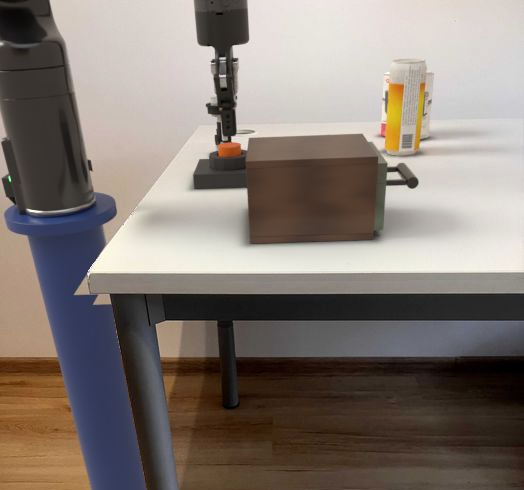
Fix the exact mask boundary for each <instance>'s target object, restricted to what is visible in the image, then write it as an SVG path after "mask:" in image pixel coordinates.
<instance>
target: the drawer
mask: <svg viewBox="0 0 524 490" xmlns="http://www.w3.org/2000/svg"><path fill="white" fill-rule="evenodd" d="M368 142H369V144H370V145H371V147H372V148H373V150H374V151H375V153H376V154H377V155H378V171H377V187H376V203H375V219H374V231H383V230H384V224H385V223H384V222H385V209H386V208H385V206H386V196H387V195H386V194H387V187H394V186H395V187H397V186H407V188H408V189H411V190H414V189H416V188H417V187H418V186H419V183H420V181H419V179H418V177H417V176H416V175H415V174H414V172H413V171H412V170H411V169H410V167H409V166H408V165H407V164H406V163H405V162H399V163H397V165H396V166H395V165H394V166H388V165H389V164H388V161H387V160H386V159H385V157H384V156H383V155H382V153H381V152H380V150H379V149H378V148H377V146H376V145H375V144H374V142H373V141H368ZM388 173H397V175H398V176H399V177H400V178H399V179H395V178H394V179H388Z"/></svg>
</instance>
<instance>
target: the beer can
mask: <svg viewBox="0 0 524 490" xmlns="http://www.w3.org/2000/svg"><path fill="white" fill-rule="evenodd" d="M427 71H428V65H427V64H426V59H423V58H397V59H393V60H392V63H391V65H390V67H389V72H390V75H389V90H388V104H387V119H386V134H385V136H384V149H385V151H386V152H387V154H388V155H392V156H399V157H400V156H401V157H406V156H407V157H408V156H413V155H415V154H416V153H417V151H418V150H419V149H420V145H421V144H420V143H421V139H420V135H421V124H422V114H423V104H424V93H425V83H426V73H427Z"/></svg>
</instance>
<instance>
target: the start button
mask: <svg viewBox="0 0 524 490" xmlns="http://www.w3.org/2000/svg"><path fill="white" fill-rule="evenodd" d="M241 149H242V144H241V143H240V142H233V141H231V142H228V143H222V144H219V145H218V154H219V156H221V157H234V156H240V155H241Z"/></svg>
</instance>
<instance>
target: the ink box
mask: <svg viewBox="0 0 524 490" xmlns="http://www.w3.org/2000/svg"><path fill="white" fill-rule="evenodd" d="M389 75H390V71H387V72H384V73H383V77H382V79H383V81H382V98H381V99H382V100H381V117H380V118H381V121H380V122H381V123H380V136H381V137H385V134H386V119H387V104H388V90H389ZM434 79H435V73H434V72H433V71H431V70H429V71H428V70H427V73H426V83H425V93H424V104H423V114H422V124H421V135H420V140H424V139H428V138H429V134H430V123H431V111H432V101H433V90H434Z"/></svg>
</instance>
